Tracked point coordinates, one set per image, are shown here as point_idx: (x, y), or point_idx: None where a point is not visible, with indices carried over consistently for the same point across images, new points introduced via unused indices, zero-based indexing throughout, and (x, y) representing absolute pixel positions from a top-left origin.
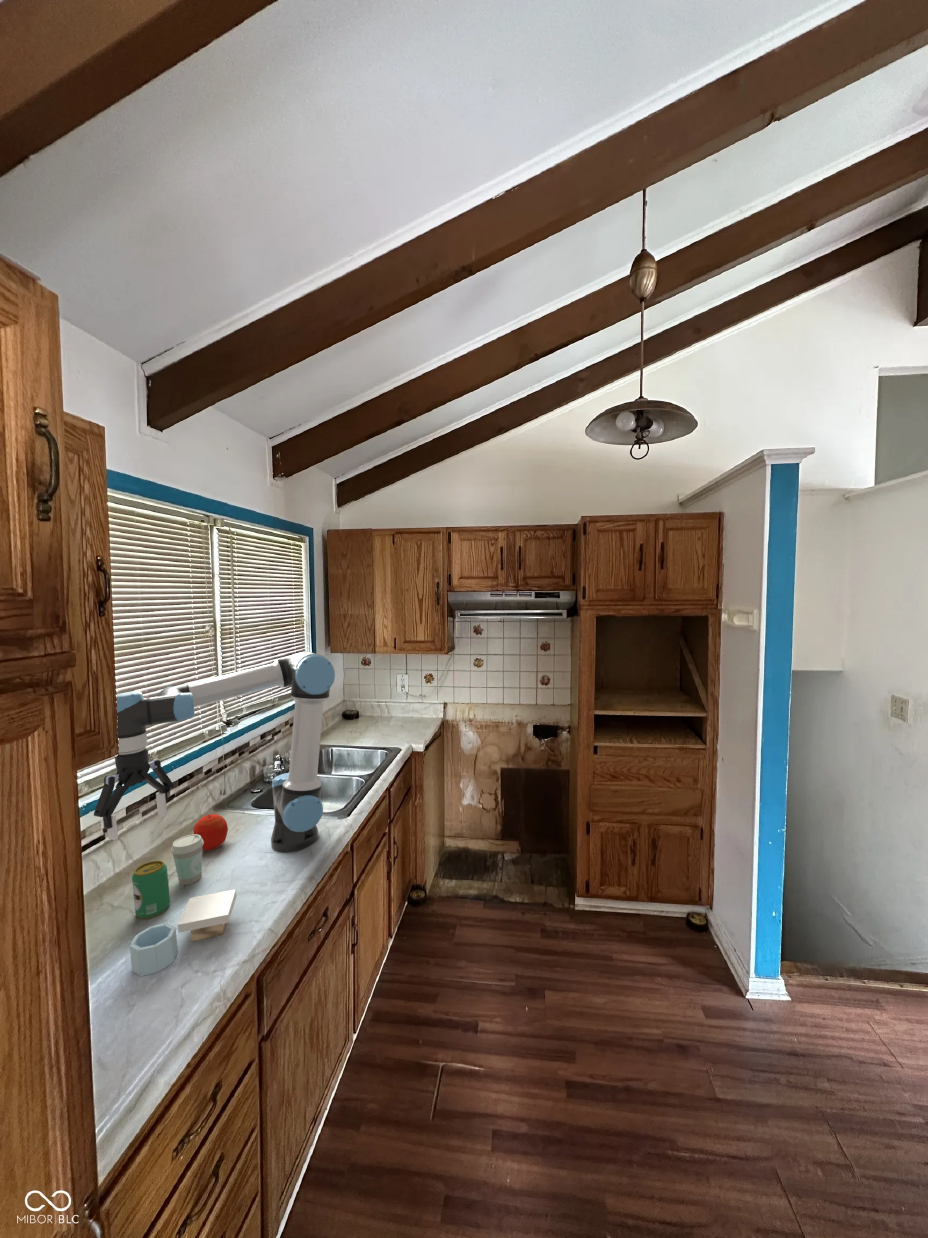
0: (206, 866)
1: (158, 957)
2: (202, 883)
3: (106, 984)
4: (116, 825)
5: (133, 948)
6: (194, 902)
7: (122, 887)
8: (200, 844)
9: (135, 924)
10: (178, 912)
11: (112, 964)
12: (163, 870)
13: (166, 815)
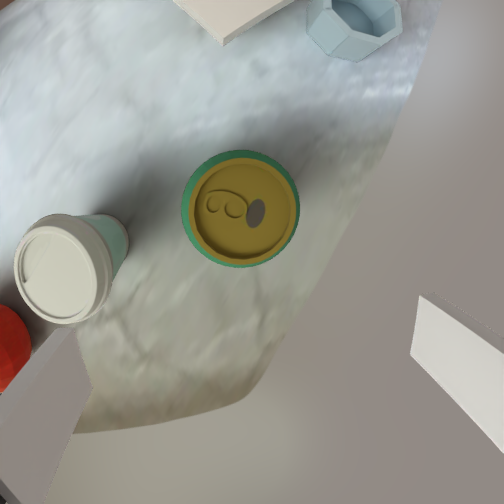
0: None
1: None
2: (100, 189)
3: (410, 67)
4: (479, 337)
5: (401, 19)
6: (234, 10)
7: (207, 372)
8: (37, 221)
9: None
10: (212, 122)
11: (383, 102)
12: (216, 158)
13: (58, 329)
